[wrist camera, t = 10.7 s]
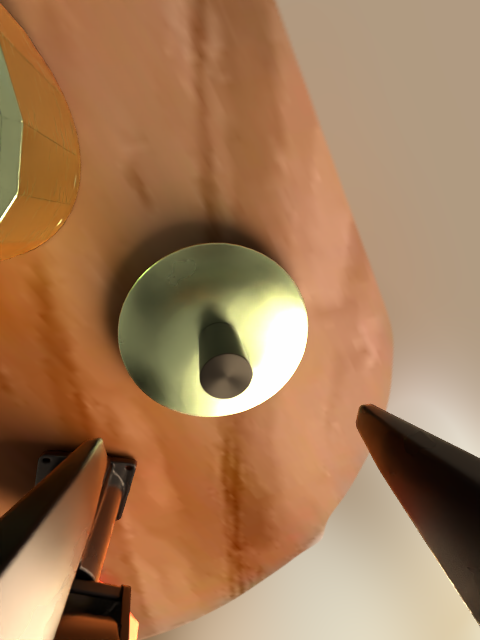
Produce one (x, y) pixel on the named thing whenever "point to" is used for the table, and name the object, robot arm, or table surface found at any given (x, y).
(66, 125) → the pot
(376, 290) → the table surface
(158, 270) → the lid
